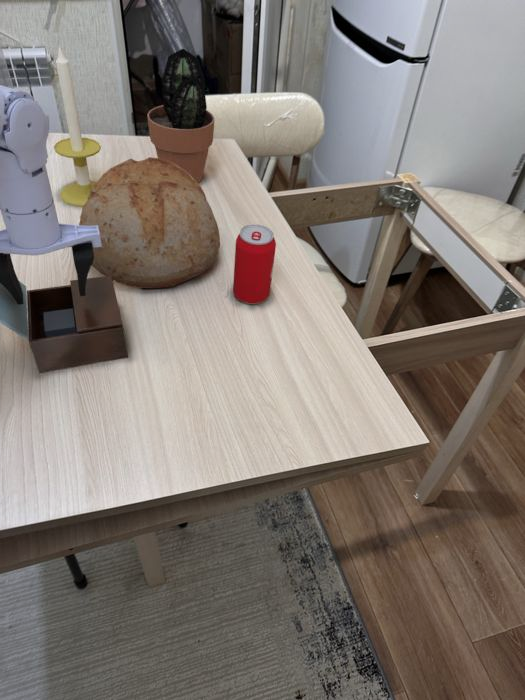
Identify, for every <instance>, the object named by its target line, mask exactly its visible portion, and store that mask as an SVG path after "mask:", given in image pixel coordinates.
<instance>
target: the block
mask: <svg viewBox="0 0 525 700" xmlns="http://www.w3.org/2000/svg"><path fill="white" fill-rule="evenodd" d="M43 317H44V331H45V335H46V338H49V337H55V336H61V335H68V334H74V333H79V332H77V327H76V320H75V314H74V310H73V308H71V309H64V310H57V311H50V312H44V313H43Z"/></svg>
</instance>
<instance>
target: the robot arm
mask: <svg viewBox="0 0 525 700" xmlns="http://www.w3.org/2000/svg"><path fill="white" fill-rule="evenodd" d="M49 133H50V117H49V114H45V112H44V110H43V108H42V107H41V104H39V103H38V101H37V100H35V97H34V96H33V95H31V93H28V92H26V91H23V90H19V89H15V88H12V87H9V86H5V85H1V84H0V214H1V216H2V220H3V223H4V226H5V229H1V230H0V283H1V284H2V285H3V286H4V287H5V288H6V289H7V290H8V291H9V293H10V294H11V295H12V296H13V298H14V299H15V301H16V302H17V304H18V305H21V304H24V303H23V292H22V288H21V285H20V283H19V281H20V280H19V278H18V275H17V273H16V271H15V267H14V264H13V260H12V256H11V255H20V256H42V255H46V254H49V253H53V252H56V251H60V250H63V249H66V248H71V253H72V258H73V263H74V266H75V267H74V268H75V272H76V280H78V286H79V292H80V296H85V295H86V293H85V288H86V280H87V278H88V276H89V273H90V269H91V268H92V264H93V261H94V252H93V247H102V244H101V238H100V233H99V228H98V225H95V226H81V225H79V224H69V223H68V224H67V223H60V222H59V218H58V213H57V209H56V205H55V201H54V195H53V191H52V187H51V182H50V178H49V175H48V170H47V163H48V158H49V154H48V151H47V150H48V149H47V141H48V138H49ZM18 280H19V281H18Z"/></svg>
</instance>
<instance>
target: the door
mask: <svg viewBox="0 0 525 700" xmlns="http://www.w3.org/2000/svg"><path fill="white" fill-rule="evenodd" d="M18 281H19V283H20V285H21V288H22V292H23V303H24V304H21V305H18V304H17V302H16V301H15V299H14V298H13V296H12V295H11V294H10V293H9V291H8V290H7V289H6V288H5V287H4V286H3V285H2V284H1V283H0V324H2V325H3V326H5V327H7V328H8V329H10V330H11V331H12V332H14V333H15V334H16V335H19V336H20V337H21V338H22V339H24V340H27V339H29V335H28V310H27V286H26V285H25V284H24V283H23V282H21V281H20V280H19V279H18Z"/></svg>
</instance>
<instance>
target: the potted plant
mask: <svg viewBox="0 0 525 700" xmlns="http://www.w3.org/2000/svg"><path fill="white" fill-rule="evenodd" d="M202 69H203V68H202V65H201V62H200V59H199V58H198V57H197V56H195V55H194V54H192V53H191V52H189V51H187V50H186V49H185V48H181V49H179V50H177V51H175V52H173V53H172V54H170V55H167V60H166V64H165V67H164V71H163V75H162V78H161V91H162V103H163V104H162V105H159V106H155V107H153V108H152V109H150V110H149V111H148V113H147V114H146V116H147V125H148V133H149V139H150V142H151V143H152V144H153V145H154V148H155V152H156V156H157V158H161V159H164V160H167V161H170V162H172V163H174V164H176V165H178V166H179V167H181V168H182V169H184V170H185V171H186V172H188V173H189V174H190V175H191V176H192V177H193V178H194V179H195V181H196V182H197V183H198V184H199V183H200V182H201V181H202V180H203V176H204V171H205V167H206V163H207V159H208V153H209V149H210V147H211V146H212V145H213V142H214V133H215V132H214V131H215V120H216V119H215V116H214V115H213V113H212V112H210V111H209V110H207V109H208V106H207V98H206V91H205V90H206V79H205V76H204V73H203V70H202Z"/></svg>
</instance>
